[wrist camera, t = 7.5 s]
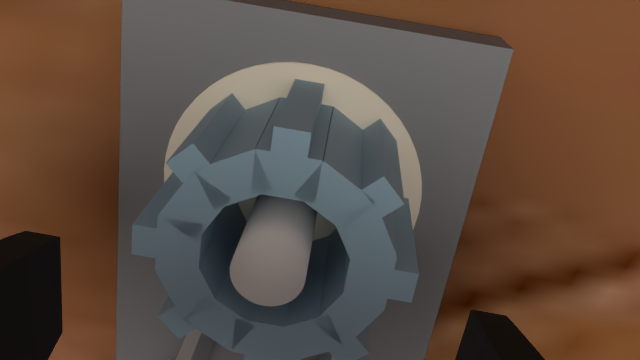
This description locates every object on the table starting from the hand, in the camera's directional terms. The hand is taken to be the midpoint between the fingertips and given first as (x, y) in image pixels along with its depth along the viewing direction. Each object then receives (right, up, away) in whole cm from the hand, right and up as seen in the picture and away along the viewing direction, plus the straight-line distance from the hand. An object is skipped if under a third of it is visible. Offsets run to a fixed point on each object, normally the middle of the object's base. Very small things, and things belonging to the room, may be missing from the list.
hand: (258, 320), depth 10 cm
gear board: (-1, -3, +9) cm, 9 cm away
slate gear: (0, +2, +5) cm, 5 cm away
